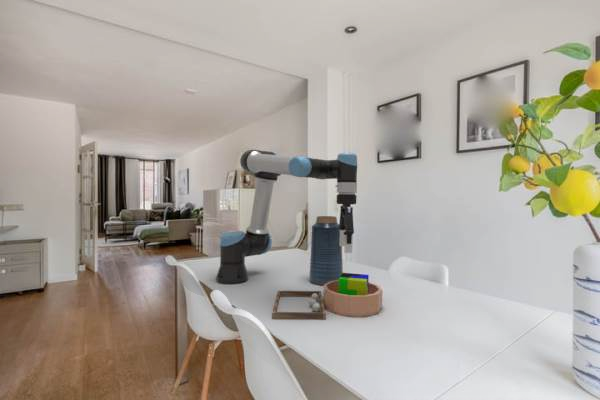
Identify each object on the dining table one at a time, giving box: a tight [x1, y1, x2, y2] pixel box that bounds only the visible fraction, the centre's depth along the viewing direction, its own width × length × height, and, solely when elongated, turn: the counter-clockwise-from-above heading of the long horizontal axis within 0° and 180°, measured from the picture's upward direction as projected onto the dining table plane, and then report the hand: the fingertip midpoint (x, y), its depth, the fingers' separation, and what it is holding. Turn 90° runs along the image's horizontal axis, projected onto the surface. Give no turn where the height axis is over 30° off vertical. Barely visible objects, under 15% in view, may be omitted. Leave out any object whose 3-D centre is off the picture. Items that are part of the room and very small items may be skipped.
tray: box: [271, 290, 327, 320], centre depth 112 cm, size 24×18×2 cm
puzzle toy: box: [338, 272, 370, 295], centre depth 113 cm, size 10×10×10 cm
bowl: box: [323, 280, 383, 318], centre depth 113 cm, size 21×21×7 cm
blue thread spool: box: [308, 215, 344, 286], centre depth 146 cm, size 16×16×32 cm
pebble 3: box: [311, 302, 321, 312], centre depth 107 cm, size 3×3×3 cm
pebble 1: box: [310, 293, 319, 301], centre depth 118 cm, size 3×3×3 cm
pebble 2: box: [308, 299, 318, 308], centre depth 111 cm, size 3×3×3 cm
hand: (345, 249), depth 115 cm, fingers open, 13 cm apart
